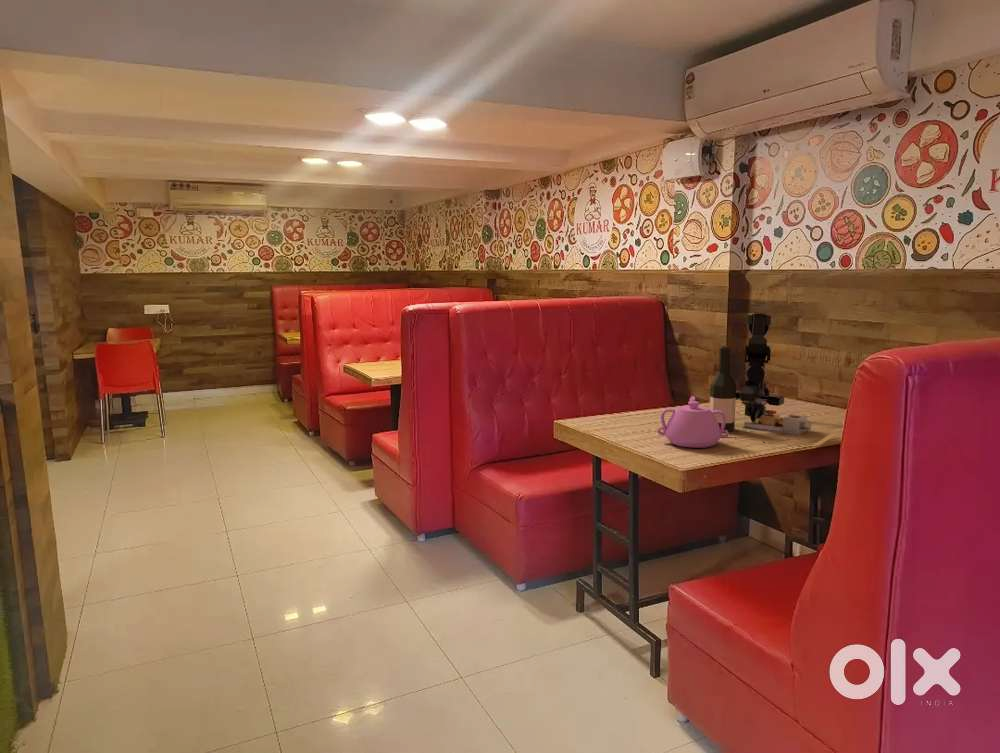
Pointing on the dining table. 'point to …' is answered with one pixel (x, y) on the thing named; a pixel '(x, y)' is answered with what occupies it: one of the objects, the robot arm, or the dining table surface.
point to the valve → (770, 419)
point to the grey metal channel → (784, 426)
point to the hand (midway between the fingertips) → (752, 421)
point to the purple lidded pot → (693, 426)
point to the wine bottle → (724, 391)
